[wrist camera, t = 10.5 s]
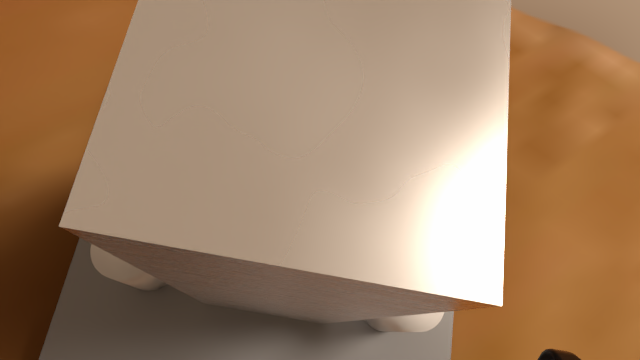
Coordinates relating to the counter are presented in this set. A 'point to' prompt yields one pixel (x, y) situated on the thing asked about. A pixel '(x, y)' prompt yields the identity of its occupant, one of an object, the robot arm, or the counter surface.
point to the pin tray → (212, 324)
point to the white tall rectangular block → (306, 155)
